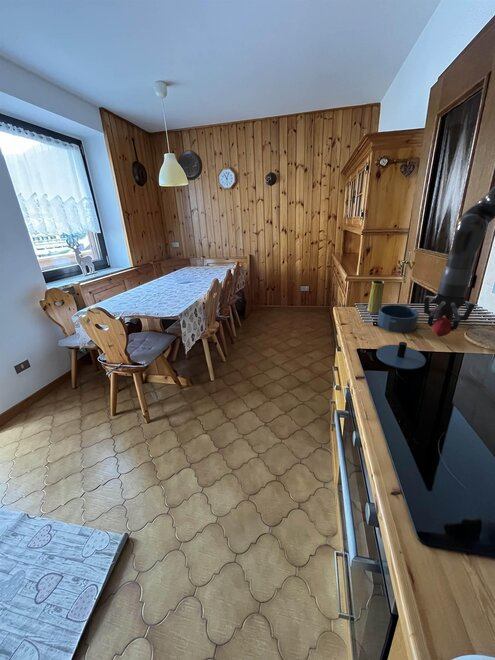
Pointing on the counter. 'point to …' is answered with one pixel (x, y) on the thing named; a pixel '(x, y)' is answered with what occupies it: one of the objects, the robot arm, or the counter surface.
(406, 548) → the counter surface
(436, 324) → the onion
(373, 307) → the vase
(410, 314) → the pot
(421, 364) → the lid
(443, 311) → the bottle
